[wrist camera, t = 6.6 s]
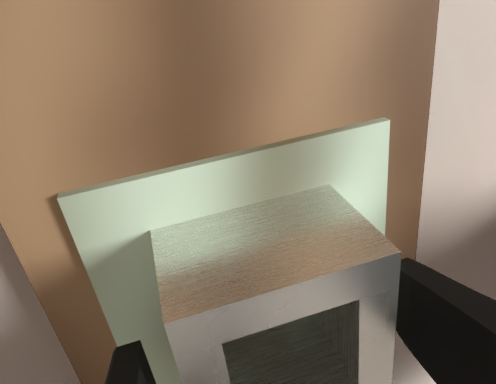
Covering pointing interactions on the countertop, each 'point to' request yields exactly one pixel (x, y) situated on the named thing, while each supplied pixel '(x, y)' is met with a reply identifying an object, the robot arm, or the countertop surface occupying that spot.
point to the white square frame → (280, 293)
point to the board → (194, 137)
